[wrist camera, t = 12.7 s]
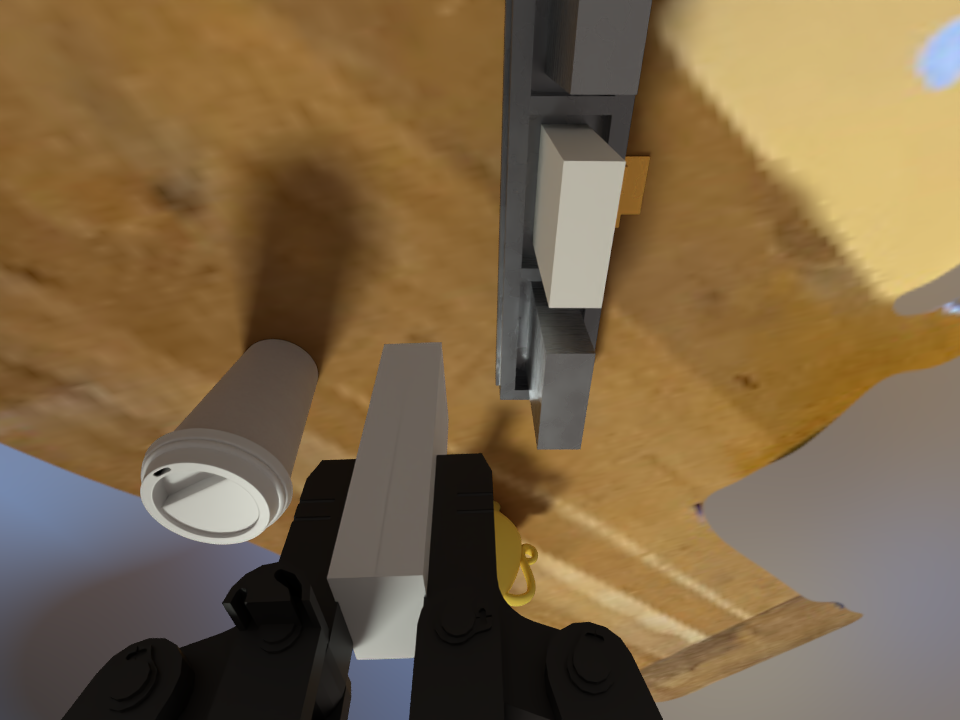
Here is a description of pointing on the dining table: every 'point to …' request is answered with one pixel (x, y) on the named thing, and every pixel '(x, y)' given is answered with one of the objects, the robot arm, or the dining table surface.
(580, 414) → the rack
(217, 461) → the coffee cup
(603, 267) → the panel
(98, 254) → the dining table surface
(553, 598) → the dining table surface
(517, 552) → the teapot
